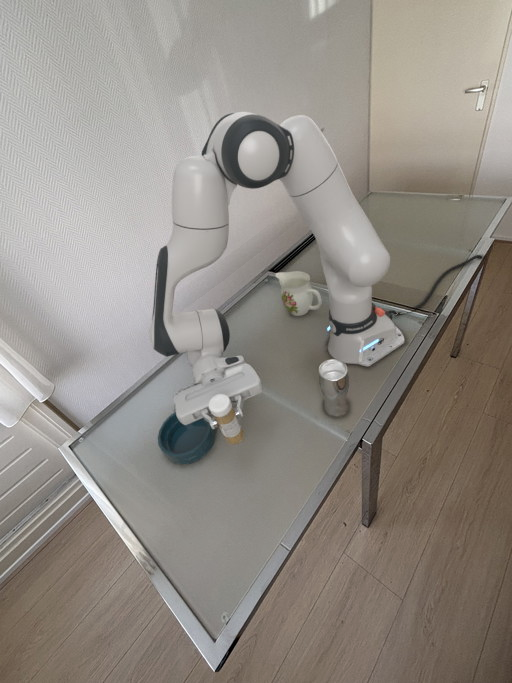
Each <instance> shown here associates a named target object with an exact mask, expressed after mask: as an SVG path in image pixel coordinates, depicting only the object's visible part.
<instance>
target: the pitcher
mask: <svg viewBox="0 0 512 683" xmlns="http://www.w3.org/2000/svg"><path fill="white" fill-rule="evenodd" d="M274 276H275V277H276V278H277V279H278V281H279V285H280V287H281V291H280V295H281V296H280V298H281V300H282V305H284V308H285V309H286V311H288V313H290V314H291V315H292V316H296V317H300V316H304V315H306V314H308V312H309V311H310V310H312V311H316V310H318V309H320V308H321V306H322V304H323V300H322V295H321V293H320V292H319V290H317V289H316V288H315V289H314V288H312V285H311V283H310V282H311V277H310V275H309V274H308V273H307V272H305V271H300V270H293V271H287V272H285V271H279V272H276V273H275V274H274ZM314 295H315V297H316V298H317V304H316V305H312V304H313V300H314Z"/></svg>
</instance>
